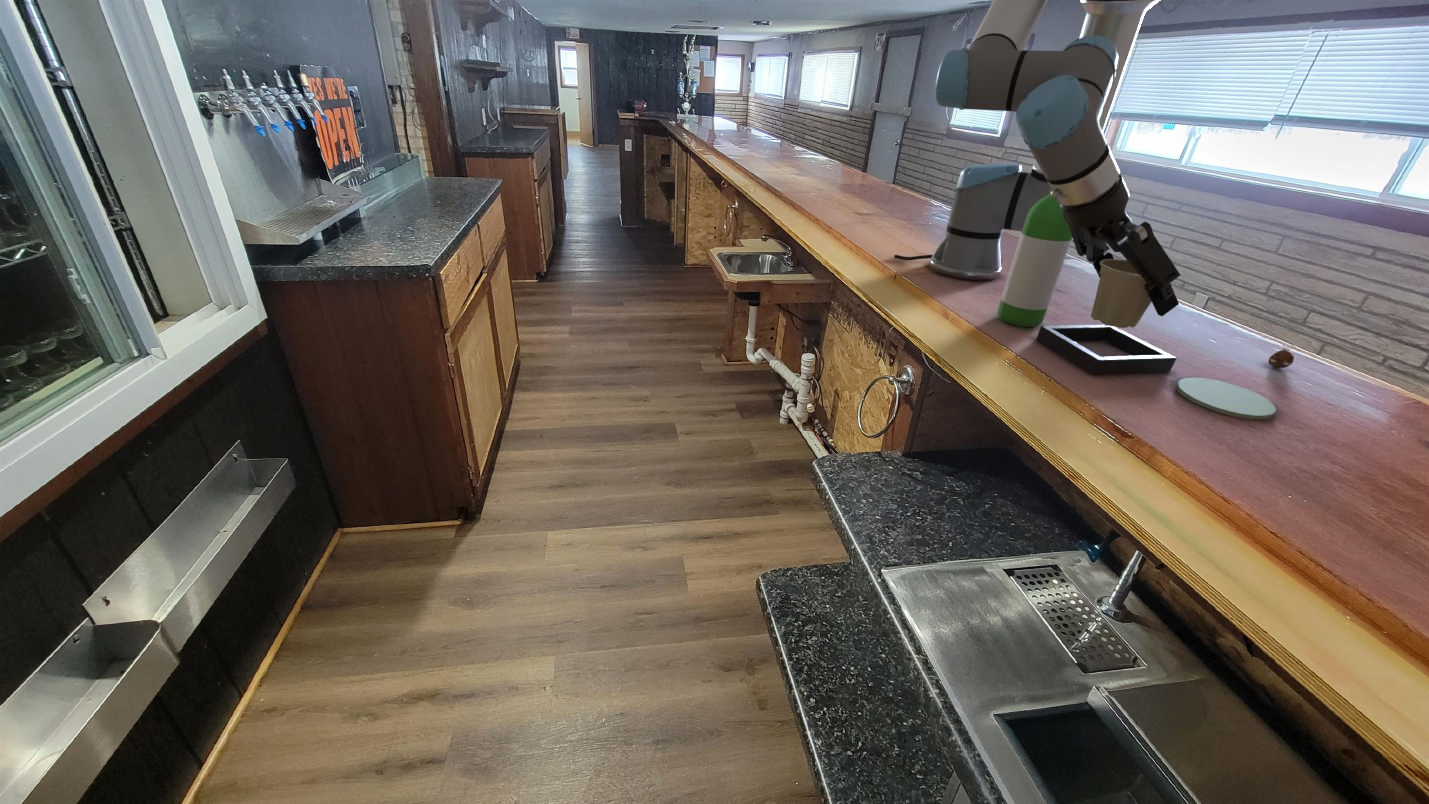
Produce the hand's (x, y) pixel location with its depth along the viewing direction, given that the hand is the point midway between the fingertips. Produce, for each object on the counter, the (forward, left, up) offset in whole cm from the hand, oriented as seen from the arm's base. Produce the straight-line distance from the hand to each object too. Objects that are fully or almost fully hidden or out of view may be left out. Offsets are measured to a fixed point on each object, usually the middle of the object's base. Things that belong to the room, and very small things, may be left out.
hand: (1140, 297), depth 87 cm
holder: (-2, -2, -10) cm, 10 cm away
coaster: (+14, -7, -10) cm, 18 cm away
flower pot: (-2, -2, -4) cm, 5 cm away
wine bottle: (-16, +5, -10) cm, 19 cm away
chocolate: (+21, +13, -10) cm, 26 cm away
